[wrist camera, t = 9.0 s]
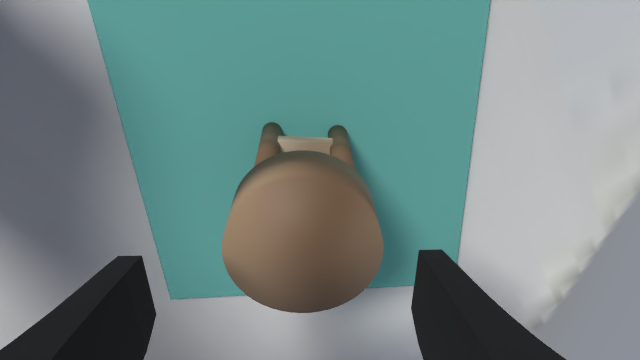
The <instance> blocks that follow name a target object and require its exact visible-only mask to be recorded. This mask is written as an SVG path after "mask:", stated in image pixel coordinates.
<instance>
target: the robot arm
mask: <svg viewBox="0 0 640 360" xmlns="http://www.w3.org/2000/svg"><path fill="white" fill-rule="evenodd" d="M411 309H412V314H413V320H414V325H415V330H416V334H417V339H418V344H419V347H420V350H421V353H422V356H423V359H424V360H566V359H564V358H563V357H562V356H560V355H559V354H558V353H556V352H555V351H553V350H552V349H551V348H550V347H548V346H547V345H545V344H544V343H543V342H542V341H540V340H539V339H538V338H537V337H535V336H534V335H533V334H532V333H530V332H529V331H528V330H527V329H526V328H524V327H523V326H522V325H521V324H520V323H518V322H517V321H516V320H515V319H514V318H513V317H511V316H510V315H509V314H508V313H507V312H506V311H505V310H503V309H502V308H501V307H500V306H499V305H498V304H497V303H496V302H495V301H494V300H493V299H491V298H490V297H489V296H488V295H487V294H486V293H485V292H484V291H483V290H482V289H481V288H480V287H479V286H478V285H477V284H476V283H475V282H474V281H473V280H472V279H471V278H470V277H469V276H468V275H467V274H466V273H465V272H464V271H463V270H462V269H461V268H460V267H459V266H458V265H457V264H456V263H455V262H454V261H453V260H452V259H451V258H450V257H449V256H448V255H447V254H446V253H445V252H444V251H443V250H442V249H437V250H419V253H418V261H417V268H416V276H415V283H414V291H413V298H412V306H411ZM155 317H156V312H155V308H154V304H153V299H152V295H151V291H150V287H149V283H148V279H147V275H146V271H145V267H144V262H143V258H142V256H118V257H117V258H115V259H114V260H113V261H111V262H110V263H109V264H108V265H106V266H105V267H104V268H103V269H102V270H100V271H99V272H98V273H97V274H96V275H95V276H93V277H92V278H91V279H90V280H89V281H87V282H86V283H85V284H84V285H83V286H82V287H80V288H79V289H78V290H77V291H76V292H74V293H73V294H72V295H71V296H70V297H68V298H67V299H66V300H65V301H63V302H62V303H61V304H60V305H59V306H57V307H56V308H55V309H54V310H53V311H51V312H50V313H49V314H47V315H46V316H45V317H44V318H42V319H41V320H40V321H38V322H37V323H36V324H34V325H33V326H32V327H31V328H29V329H28V330H27V331H25V332H24V333H23V334H21V335H20V336H19V337H17V338H16V339H15V340H14V341H12V342H11V343H10V344H8V345H7V346H5V347H4V348H3V349H1V350H0V360H143V359H144V356H145V354H146V351H147V347H148V344H149V340H150V337H151V333H152V329H153V325H154V321H155Z"/></svg>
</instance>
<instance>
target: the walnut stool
mask: <svg viewBox="0 0 640 360" xmlns="http://www.w3.org/2000/svg"><path fill="white" fill-rule="evenodd" d="M222 257H223V262H224V265H225V268H226V270H227V272H228V274H229V276H230V277H231V279H232V280H233V282H234V283H235V284H236V285H237V287H238V288H239V289H240V290H241V291H243V292H244V293H245V294H246V295H247V296H249V297H250V298H252V299H253V300H255V301H257V302H259V303H261V304H263V305H265V306H268V307H270V308H273V309H277V310H281V311H286V312H295V313H311V312H319V311H323V310H328V309H331V308H334V307H337V306H339V305H342V304H344V303H346V302H348V301H349V300H351V299H353V298H354V297H356V296H357V295H358V294H360V293H361V292H362V291H363V290H364V289H365V288H366V287H367V286H368V285H369V284H370V283H371V281H372V280H373V279H374V277H375V275H376V274H377V272H378V270H379V267H380V265H381V261H382V257H383V238H382V234H381V230H380V226H379V222H378V219H377V215H376V211H375V207H374V204H373V200H372V196H371V193H370V190H369V188H368V186H367V184H366V183H365V181H364V179H363V178H362V177H361V176H360V174H359V173H358V172H357V171H356V170H355V165H354V161H353V157H352V152H351V148H350V143H349V139H348V134H347V131H346V129H345V128H344V127H343V126H341V125H335V126H333V127H331V128H330V129H329V131H328V138H320V137H296V136H282V128H281V127H280V125H279V124H277V123H274V122H269V123H267V124H265V125H264V127H263V130H262V134H261V138H260V143H259V147H258V151H257V156H256V160H255V164H254V167H253V168H252V169H251V170H250V171H249V172H248V173H247V174H246V175H245V177H244V178H243V179H242V181H241V182H240V184H239V186H238V188H237V190H236V193H235V195H234V199H233V202H232V206H231V209H230V213H229V216H228V220H227V223H226V227H225V230H224V234H223V239H222Z"/></svg>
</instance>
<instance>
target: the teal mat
mask: <svg viewBox="0 0 640 360" xmlns="http://www.w3.org/2000/svg"><path fill="white" fill-rule="evenodd" d="M88 4H89V8H90V11H91V15H92V18H93V22H94V26H95V29H96V33H97V36H98V40H99V43H100V47H101V51H102V54H103V58H104V61H105V65H106V69H107V72H108V76H109V79H110V83H111V87H112V90H113V94H114V97H115V101H116V104H117V108H118V112H119V115H120V119H121V122H122V126H123V130H124V133H125V137H126V140H127V144H128V148H129V151H130V155H131V158H132V162H133V165H134V169H135V173H136V176H137V180H138V183H139V187H140V191H141V194H142V198H143V201H144V205H145V209H146V212H147V216H148V219H149V223H150V226H151V230H152V234H153V237H154V241H155V244H156V248H157V252H158V255H159V259H160V262H161V266H162V270H163V273H164V277H165V280H166V284H167V287H168V291H169V295H170V298H171V299H186V298H204V297H221V296H239V295H246V294H245V293H244V292H243V291H241V290H240V289H239V288H238V287H237V285H236V284H235V283H234V282H233V280H232V279H231V277H230V276H229V274H228V272H227V270H226V268H225V265H224V262H223V257H222V239H223V234H224V230H225V227H226V223H227V220H228V216H229V213H230V209H231V206H232V202H233V199H234V195H235V193H236V190H237V188H238V186H239V184H240V182H241V181H242V179H243V178H244V177H245V175H246V174H247V173H248V172H249V171H250V170H251V169H252V168H253V167H254V164H255V160H256V156H257V151H258V147H259V143H260V138H261V134H262V130H263V127H264V125H265V124H267V123H269V122H274V123H277V124H279V125H280V127H281V128H282V136H296V137H320V138H328V131H329V129H330V128H331V127H333V126H335V125H341V126H343V127H344V128H345V129H346V131H347V134H348V139H349V143H350V148H351V152H352V157H353V161H354V165H355V170H356V171H357V172H358V173H359V174H360V176H361V177H362V178H363V179H364V181H365V183H366V184H367V186H368V188H369V190H370V193H371V196H372V200H373V204H374V207H375V211H376V215H377V219H378V222H379V226H380V230H381V234H382V238H383V257H382V261H381V265H380V267H379V270H378V272H377V274H376V275H375V277H374V279H373V280H372V281H371V283H370V284H369V285H368V286H367V287H366V288H379V287H397V286H414V283H415V276H416V268H417V261H418V253H419V250H437V249H442V250H443V251H444V252H445V253H446V254H447V255H448V256H449V257H450V258H451V259H452V260H453V261H454V262H455V263H456V264H457V257H458V249H459V242H460V234H461V226H462V218H463V210H464V202H465V194H466V187H467V179H468V171H469V163H470V155H471V147H472V140H473V132H474V124H475V116H476V108H477V100H478V93H479V85H480V77H481V69H482V61H483V53H484V45H485V38H486V30H487V22H488V14H489V6H490V0H88Z"/></svg>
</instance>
